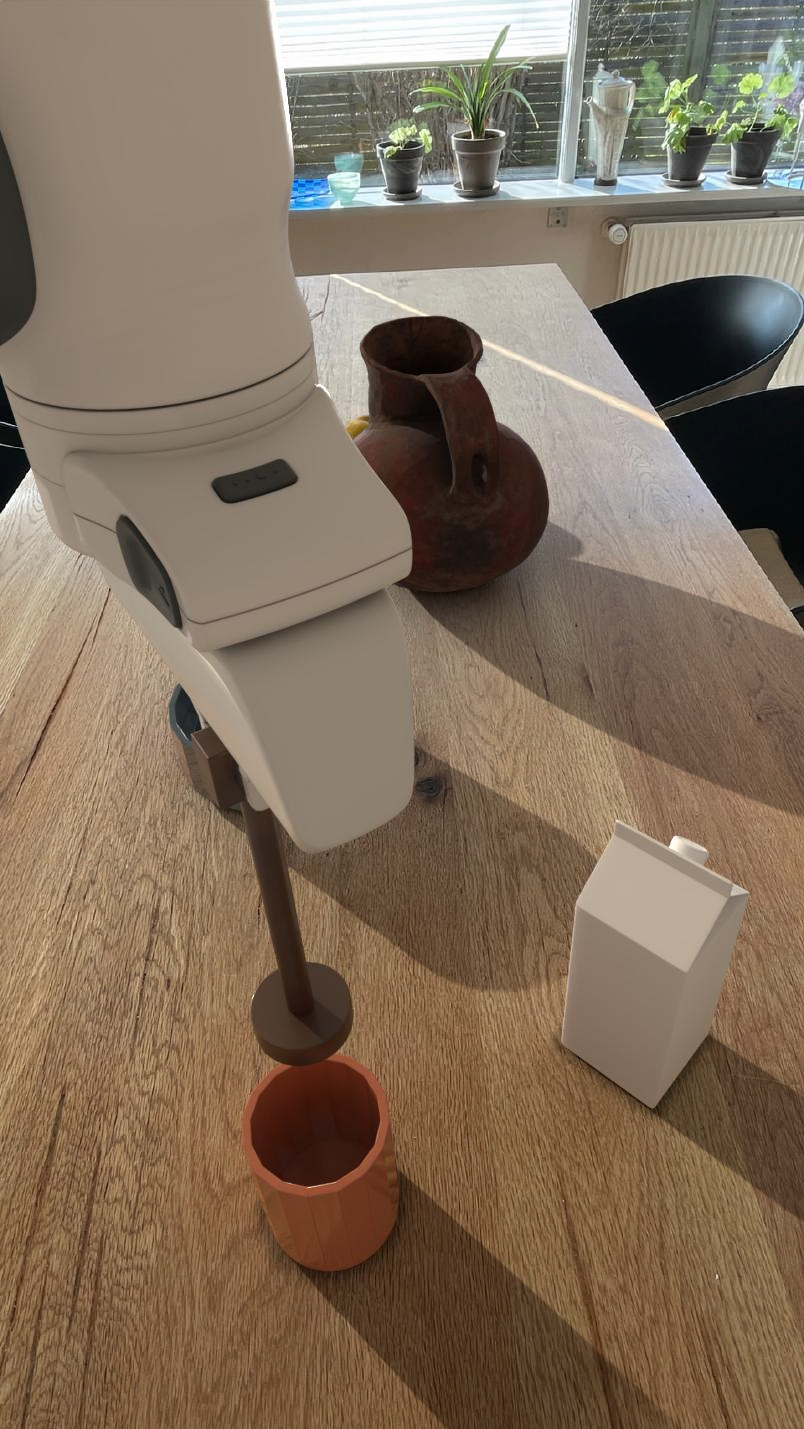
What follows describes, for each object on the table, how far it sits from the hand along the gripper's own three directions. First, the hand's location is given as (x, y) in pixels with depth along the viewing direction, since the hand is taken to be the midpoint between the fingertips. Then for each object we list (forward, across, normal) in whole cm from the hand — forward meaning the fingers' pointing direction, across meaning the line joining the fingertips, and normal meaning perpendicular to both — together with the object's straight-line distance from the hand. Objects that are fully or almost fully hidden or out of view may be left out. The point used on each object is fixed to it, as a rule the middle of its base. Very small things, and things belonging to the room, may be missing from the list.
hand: (250, 771), depth 38 cm
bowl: (+32, -35, +14) cm, 50 cm away
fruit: (+33, -78, +49) cm, 97 cm away
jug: (+33, -53, +43) cm, 76 cm away
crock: (+33, +3, -1) cm, 33 cm away
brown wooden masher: (+18, 0, 0) cm, 18 cm away
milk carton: (+33, +5, +21) cm, 39 cm away
